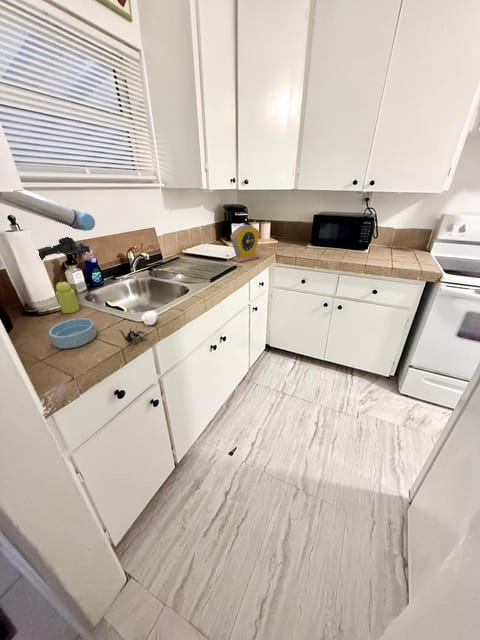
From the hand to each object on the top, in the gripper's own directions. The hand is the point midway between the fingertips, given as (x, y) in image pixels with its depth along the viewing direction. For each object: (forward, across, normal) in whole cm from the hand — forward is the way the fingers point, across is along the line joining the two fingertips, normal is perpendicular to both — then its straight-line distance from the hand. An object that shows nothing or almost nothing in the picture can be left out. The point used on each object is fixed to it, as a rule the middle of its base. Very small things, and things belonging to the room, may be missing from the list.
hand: (59, 255), depth 103 cm
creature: (+44, -23, -20) cm, 53 cm away
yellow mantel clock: (-34, -96, -20) cm, 104 cm away
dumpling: (+33, -28, -20) cm, 48 cm away
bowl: (+36, -5, -19) cm, 41 cm away
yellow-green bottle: (+10, 0, -20) cm, 22 cm away
